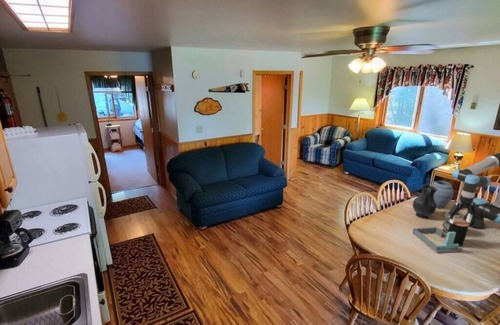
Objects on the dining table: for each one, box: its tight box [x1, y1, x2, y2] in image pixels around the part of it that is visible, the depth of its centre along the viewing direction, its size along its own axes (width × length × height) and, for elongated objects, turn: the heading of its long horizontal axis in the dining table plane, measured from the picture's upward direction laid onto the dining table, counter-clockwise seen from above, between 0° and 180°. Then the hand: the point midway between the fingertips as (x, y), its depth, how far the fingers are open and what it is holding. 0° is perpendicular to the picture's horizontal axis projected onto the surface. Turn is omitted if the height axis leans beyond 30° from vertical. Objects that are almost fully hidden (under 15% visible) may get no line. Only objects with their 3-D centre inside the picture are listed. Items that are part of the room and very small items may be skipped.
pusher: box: [436, 232, 460, 250], centre depth 192 cm, size 16×2×15 cm, turn 96°
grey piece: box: [412, 226, 463, 254], centre depth 203 cm, size 19×25×4 cm
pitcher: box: [412, 184, 438, 220], centre depth 234 cm, size 17×21×30 cm
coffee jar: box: [448, 218, 469, 247], centre depth 200 cm, size 11×11×18 cm
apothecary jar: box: [441, 211, 464, 235], centre depth 213 cm, size 12×12×18 cm
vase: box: [430, 180, 454, 209], centre depth 254 cm, size 20×20×24 cm
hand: (459, 222), depth 197 cm, fingers open, 13 cm apart
